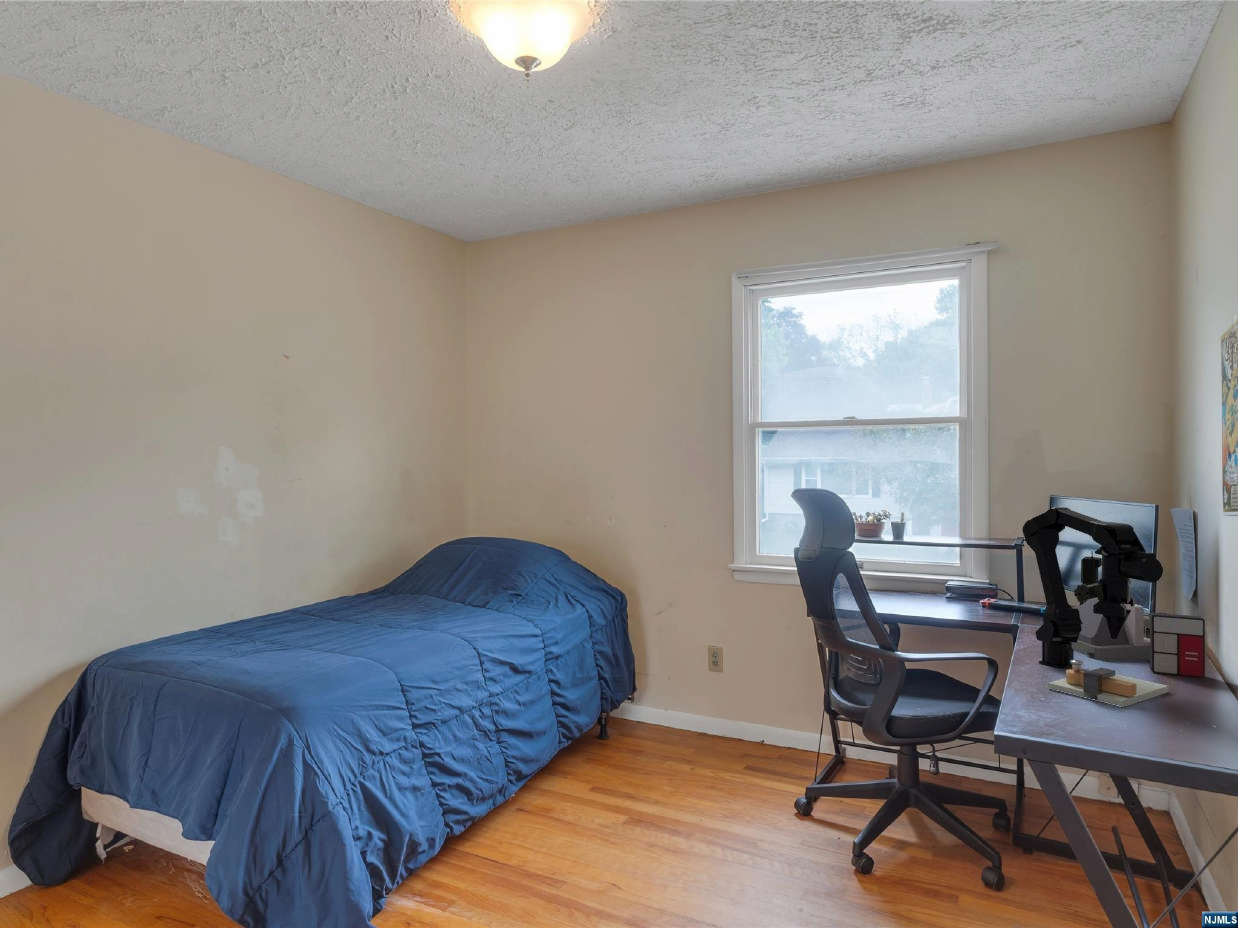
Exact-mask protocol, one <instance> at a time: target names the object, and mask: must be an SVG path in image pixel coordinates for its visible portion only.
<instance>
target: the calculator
mask: <svg viewBox="0 0 1238 928" xmlns="http://www.w3.org/2000/svg"><path fill="white" fill-rule="evenodd" d="M1205 623H1206V620H1205V618H1203V617H1202V616H1199V615H1188V614H1187V615H1186V614H1175V613H1163V612H1162V613H1161V612H1160V613H1159V612H1150V613H1149V638H1150V660H1149V669H1150V671H1151V672H1152V673H1153V674H1162V675H1170V676H1171V675H1172V676H1179V677H1180V676H1181V677H1189V678H1190V677H1191V678H1201V679H1204V678H1206V675H1205V674H1206V671H1205V670H1206V657H1205V656H1206V653H1205V652H1206V633H1205V632H1206V624H1205Z"/></svg>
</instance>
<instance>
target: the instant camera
mask: <svg viewBox="0 0 1238 928" xmlns="http://www.w3.org/2000/svg"><path fill="white" fill-rule="evenodd" d="M1098 601H1100V600H1098V597H1097V598H1093V599H1087V600H1084V601H1083V605H1080V604H1079V605H1078V604H1076V605H1075V606H1073V607H1072V608H1073V609H1076V608H1077V609H1078V610H1079V613H1080V619H1081V621H1082V623H1083V624H1081V627H1082V630H1081V632H1080V634H1079V638H1078V641H1077V643H1074V642H1070V643H1072V649H1073V650H1074V652H1077V653H1079V654H1082V655H1084V656H1086V657H1089V658H1092V659H1094V660H1098V661H1150V639H1148V638H1149V637H1146V638H1144V626H1145V624H1144V623H1145V618H1144V617H1145V614H1144V612H1145V609H1144V606H1142V605H1140V604H1136V603H1135V606H1134V607H1131V605H1129V604H1124V605H1126V607H1127V610H1131V612H1130V614H1129V616H1128V618H1127V620H1126V622H1125V624H1124V626H1123V628H1122V630H1121V632H1120V633H1119V635H1118V637H1117V639H1111V636H1110V632H1109V628H1108V624H1107V621H1106V618H1105V617H1104V616H1103V615H1102V614H1095V613H1093V605H1094V604H1095V603H1097V602H1098Z"/></svg>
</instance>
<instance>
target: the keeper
mask: <svg viewBox="0 0 1238 928" xmlns="http://www.w3.org/2000/svg"><path fill="white" fill-rule="evenodd" d="M1070 663H1072V666H1071V667H1072V669H1071V670H1073V671H1076V672H1081V671H1082V665H1084V661H1083V660H1080V659H1074V660H1070ZM1115 674H1116V670H1115V669H1112V668H1111V669H1109V668H1105V667H1099V668H1095V669H1091V670H1087V671H1084V692H1085V693H1084V696H1085V694H1086V692H1087V694H1088V695H1089V694H1091V693H1092V694H1094V695H1097V696H1098V695H1099V694H1102V679H1106V678H1109V677H1113V676H1115ZM1087 694H1086V695H1087ZM1086 697H1088V696H1086ZM1092 697H1093V696H1092ZM1095 697H1096V696H1095ZM1097 698H1098V697H1097ZM1090 699H1091V698H1090ZM1094 699H1095V698H1094Z"/></svg>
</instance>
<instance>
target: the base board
mask: <svg viewBox="0 0 1238 928" xmlns="http://www.w3.org/2000/svg"><path fill="white" fill-rule="evenodd" d="M1109 678H1113V679H1117V680H1122V681H1126V682H1131V683H1135V684H1136V695H1134V696H1132V697H1128V696H1124V695H1119V694H1115V693H1111V692H1107V691H1103V690H1102V694H1099V695H1098V696H1097V695H1094V694H1092V693H1091V694H1089V695H1088V694H1087V692H1086V694H1087V695H1086V694H1085V696H1084V693H1085V692H1084V686H1082V685H1074V684H1070V683H1067V682H1066V677H1063V678H1059V679H1057V680H1053V681H1050V682H1047V689H1048V688H1051V689H1054V690H1059V691H1063V692H1066V693H1071V694H1075V695H1078V696H1082V697H1086V696H1088V697H1087V698H1091V699H1094V698H1095V700H1097V701H1102V702H1107V703H1110V704H1115V705H1119V706H1121V707H1123V706H1126V705H1129V706H1131V704H1132V705H1135V704H1138V703H1141V702H1142V701H1146V700H1149V699H1153V698H1155V697H1158V696H1161V695H1164V694H1167V693H1169V685H1166V684H1161V683H1157V682H1153V681H1149V680H1143V679H1141V678H1140V679H1139V678H1135V677H1130V676H1125V675H1121V674H1117V673H1115V676H1113V677H1109ZM1054 690H1053V691H1054ZM1066 693H1065V694H1066ZM1092 696H1093V697H1092ZM1095 696H1096V697H1095ZM1097 697H1098V698H1097ZM1097 701H1096V702H1097ZM1137 702H1138V703H1137ZM1134 703H1135V704H1134ZM1121 707H1120V708H1121ZM1126 707H1127V706H1126ZM1123 708H1124V707H1123Z"/></svg>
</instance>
